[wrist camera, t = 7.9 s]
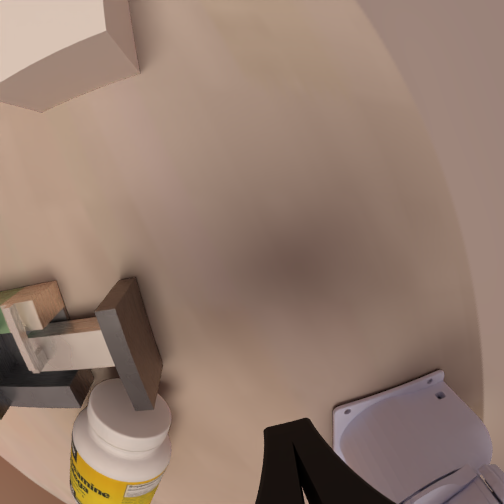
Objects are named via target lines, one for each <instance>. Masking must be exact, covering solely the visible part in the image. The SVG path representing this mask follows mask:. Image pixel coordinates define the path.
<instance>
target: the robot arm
mask: <svg viewBox="0 0 504 504" xmlns="http://www.w3.org/2000/svg"><path fill="white" fill-rule="evenodd" d="M443 379H444V372H443V371H442V370H438V371H435V372H433V373H431V374H428V375H426V376H424V377H421V378H419V379H416V380H414V381H411V382H408V383H406V384H403V385H401V386H398V387H395V388H393V389H390V390H387V391H384V392H381V393H378V394H376V395H373V396H370V397H367V398H363V399H360V400H357V401H354V402H351V403H347V404H344V405H341V406H338V407H336V408H335V409H334V410H333V450H332V448H331V447H330V446H329V445H328V444H327V443H326V441H325V440H324V439H323V438H322V436H321V435H320V434H319V433H318V431H317V430H316V428H315V427H314V425H313V424H312V422H311V420H310V419H308V418H303V419H299V420H295V421H292V422H288V423H284V424H280V425H275V426H271V427H267V428H266V429H265V430H264V458H263V467H262V474H261V480H260V486H259V490H258V495H257V499H256V503H255V504H305V502H304V496H303V491H302V488H303V490H304V493H305V495H306V498H307V500H308V502H309V504H504V472H503V471H502V470H501V469H500V468H499V467H498V466H497V465H495V464H491V465H489V464H490V461H491V458H492V442H491V438H490V435H489V432H488V430H487V428H486V426H485V425H484V423H483V422H482V421H481V419H480V418H479V417H478V416H477V415H476V414H475V413H474V412H473V411H472V410H471V409H470V408H469V407H468V406H467V405H466V404H465V403H464V401H463V400H462V399H461V398H460V397H459V396H458V395H457V394H456V393H455V392H454V391H453V390H452V389H451V388H450V387H449V386H448V385H447V384H446V383H445V382H444V381H443ZM347 409H348V410H347ZM481 474H482V476H483V477H484V478H485V481H486V483H487V484H488V486H489V487H490V488H491V489H492V491H491V490H490V489H489V488H488V486H487V485H486V484H485V482H484V481H483V480H482V479H481V477H480V475H481Z"/></svg>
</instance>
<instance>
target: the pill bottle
mask: <svg viewBox="0 0 504 504" xmlns="http://www.w3.org/2000/svg"><path fill="white" fill-rule="evenodd" d="M171 420H172V417H171V411H170V409H169V406H168V405H167V403H166V402H165V400H164V399H163V398H162V397H161V396H160V395H159V394H158V393H157V397H156V402H155V408H154V410H145V411H135V409H134V407H133V405H132V403H131V401H130V399H129V396H128V394H127V392H126V390H125V388H124V385H123V383H122V381H121V379H120V378H116V379H108V380H105V381H103V382H101V383H99V384H98V385H96V386H95V387H94V389H93V390H92V392H91V394H90V398H89V403H88V406H87V407H86V408H84V409H83V410H82V411H81V412H80V413H79V415H78V416H77V418H76V420H75V422H74V426H73V431H72V444H71V458H70V488H71V493H72V495H73V498H74V500H75V501H76V503H77V504H150V503H151V500H152V498H153V496H154V494H155V492H156V490H157V487H158V485H159V483H160V481H161V479H162V476H163V474H164V472H165V470H166V468H167V466H168V463H169V461H170V457H171V450H172V449H171V442H170V438H169V436H168V434H167V433H168V431H169V428H170V425H171Z"/></svg>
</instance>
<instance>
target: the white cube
mask: <svg viewBox="0 0 504 504" xmlns="http://www.w3.org/2000/svg"><path fill="white" fill-rule="evenodd" d="M138 74H140V70H139V64H138V59H137V53H136V47H135V41H134V35H133V29H132V22H131V16H130V9H129V2H128V0H0V102H3V103H7V104H11V105H15V106H18V107H22V108H26V109H30V110H34V111H37V112H41V113H42V112H44V111H46V110H49V109H51V108H53V107H55V106H57V105H59V104H62V103H64V102H66V101H68V100H71V99H73V98H75V97H78V96H80V95H83V94H85V93H88V92H90V91H93V90H95V89H98V88H100V87H103V86H106V85H109V84H111V83H114V82H117V81H120V80H123V79H126V78H129V77H132V76H135V75H138Z"/></svg>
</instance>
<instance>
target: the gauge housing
mask: <svg viewBox="0 0 504 504" xmlns="http://www.w3.org/2000/svg"><path fill="white" fill-rule="evenodd" d="M13 303H15V306H16V309H17V311H18V314H19V316H20V319H21V322H22V324H23V327H24V329H25V331H26V334H27V335H28V334H29V333H30V332H31V331H32V330H41V329H44V328H45V327H46V326H47V324H48V323H56V322H63V321H70V319H69V317H68V314H67V311H66V308H65V306H64V303H63V300H62V297H61V294H60V291H59V288H58V285H57V281H51V282H46V283H41V284H36V285H31V286H26V287H21V288H16V289H11V290H6V291H1V292H0V420H1V419H2V417H3V416H4V414H5V413H6V411H7V410H8V408H9V407H10V406H18V407H39V408H81V406H82V404H83V402H84V400H85V398H86V395H87V393H88V391H89V389H90V387H91V385H92V383H93V381H94V377H93V375H92V373H91V370H90V369H78V370H62V371H41V372H40V373H33V372H32V371H29V369H28V367H27V365H26V363H25V361H24V359H23V357H22V355H21V353H20V350H19V348H18V346H17V344H16V341H15V339H14V337H13V334H12V332H11V330H10V327H9V325H8V322H7V320H6V317H5V315H4V312H3V308H4V307H5V306H7V305H8V304H13Z"/></svg>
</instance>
